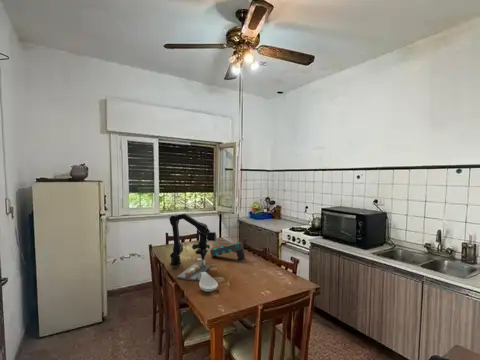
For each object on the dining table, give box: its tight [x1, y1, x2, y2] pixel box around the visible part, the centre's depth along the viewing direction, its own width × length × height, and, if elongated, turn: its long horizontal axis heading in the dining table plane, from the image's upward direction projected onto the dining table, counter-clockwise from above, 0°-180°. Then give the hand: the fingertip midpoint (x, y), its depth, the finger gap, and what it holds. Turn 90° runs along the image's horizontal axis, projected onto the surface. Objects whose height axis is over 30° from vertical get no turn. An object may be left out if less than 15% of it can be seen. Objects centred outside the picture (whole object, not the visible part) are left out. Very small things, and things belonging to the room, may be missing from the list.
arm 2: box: [187, 262, 203, 277], centre depth 191 cm, size 22×1×2 cm, turn 163°
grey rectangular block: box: [196, 257, 206, 266], centre depth 204 cm, size 3×6×5 cm, turn 74°
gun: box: [209, 241, 246, 261], centre depth 228 cm, size 7×29×15 cm, turn 75°
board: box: [176, 263, 212, 281], centre depth 194 cm, size 14×28×1 cm, turn 164°
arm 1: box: [185, 262, 201, 277], centre depth 192 cm, size 22×1×2 cm, turn 165°
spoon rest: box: [197, 271, 219, 293], centre depth 170 cm, size 24×12×7 cm, turn 25°
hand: (203, 259), depth 208 cm, fingers closed
